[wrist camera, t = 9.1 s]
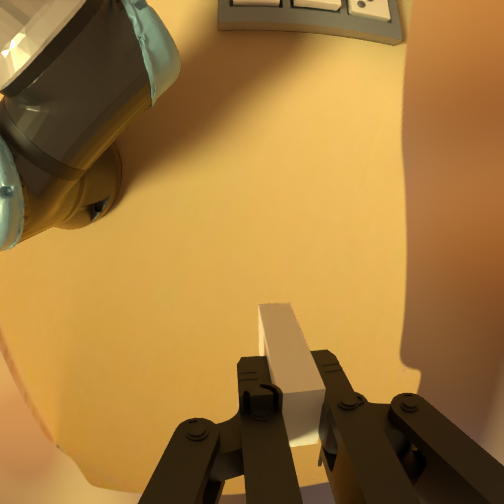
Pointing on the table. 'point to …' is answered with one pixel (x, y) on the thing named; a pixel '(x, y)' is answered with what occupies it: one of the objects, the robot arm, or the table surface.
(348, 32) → the keypad
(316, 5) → the key two
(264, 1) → the key one
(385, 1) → the key three
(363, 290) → the table surface
